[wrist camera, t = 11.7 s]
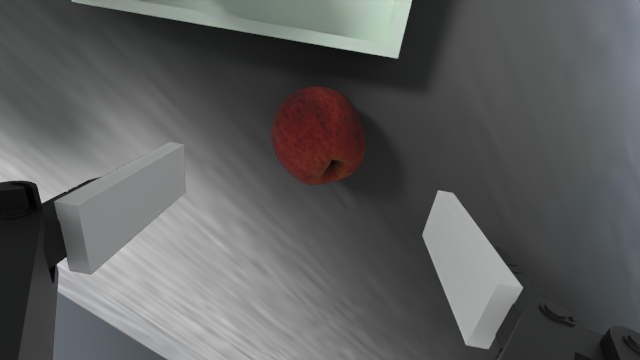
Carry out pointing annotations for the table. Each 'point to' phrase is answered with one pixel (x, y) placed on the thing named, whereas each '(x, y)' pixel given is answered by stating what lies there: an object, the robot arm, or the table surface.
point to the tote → (290, 19)
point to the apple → (318, 135)
